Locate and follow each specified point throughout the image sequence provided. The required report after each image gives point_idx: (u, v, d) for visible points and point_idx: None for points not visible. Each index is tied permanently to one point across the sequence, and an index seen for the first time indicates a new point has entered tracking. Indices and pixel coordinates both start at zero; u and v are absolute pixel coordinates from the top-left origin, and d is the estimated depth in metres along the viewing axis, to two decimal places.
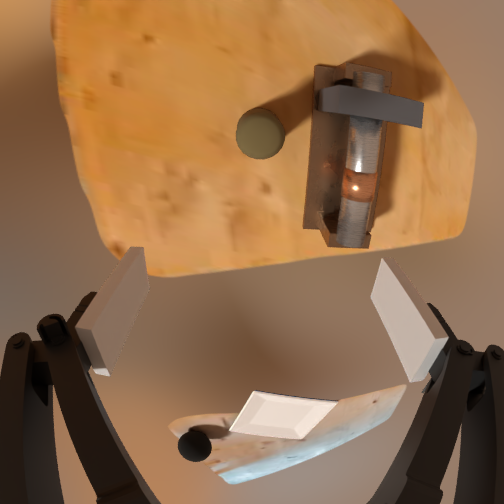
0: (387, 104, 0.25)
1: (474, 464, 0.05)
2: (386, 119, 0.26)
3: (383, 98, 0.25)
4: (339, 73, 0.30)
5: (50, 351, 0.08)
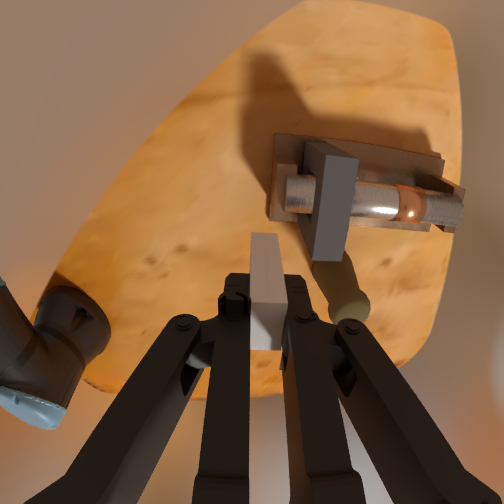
0: (332, 207, 0.25)
1: (385, 452, 0.07)
2: (350, 208, 0.25)
3: (326, 212, 0.26)
4: None
5: (222, 323, 0.10)
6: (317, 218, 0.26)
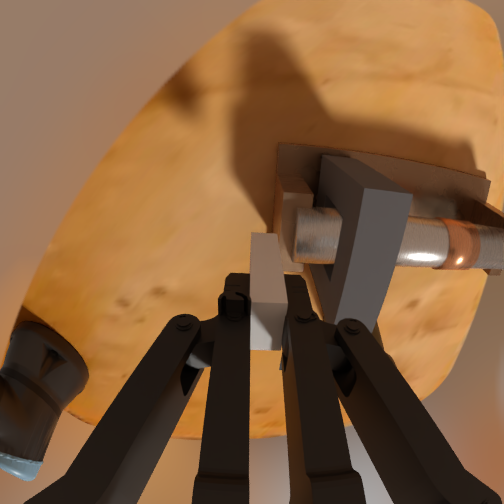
0: (367, 267, 0.16)
1: (386, 452, 0.07)
2: (392, 268, 0.16)
3: (357, 275, 0.16)
4: None
5: (222, 323, 0.10)
6: (343, 282, 0.17)
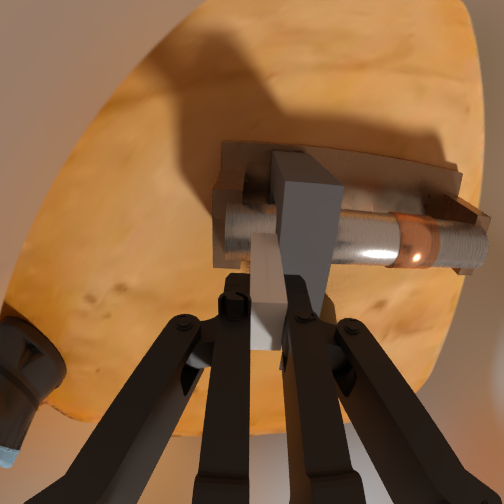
0: (298, 265, 0.16)
1: (385, 452, 0.07)
2: (328, 265, 0.16)
3: (288, 272, 0.16)
4: None
5: (222, 323, 0.10)
6: None
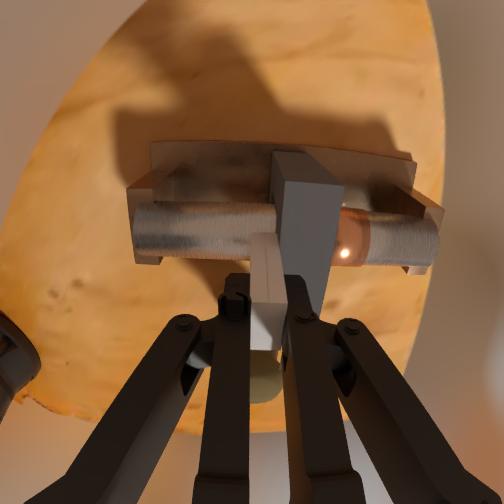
0: (298, 265, 0.16)
1: (385, 452, 0.07)
2: (328, 265, 0.16)
3: (288, 272, 0.16)
4: None
5: (222, 323, 0.10)
6: None
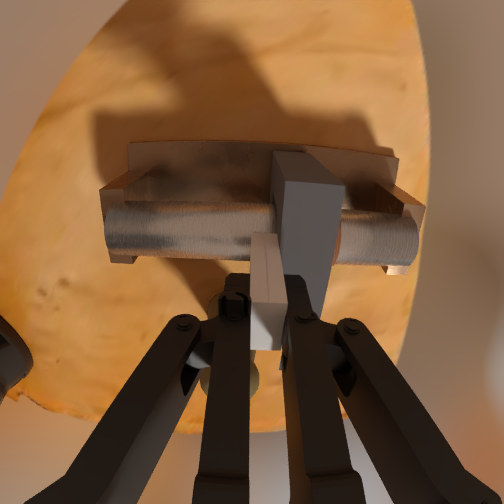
0: (298, 266, 0.16)
1: (385, 452, 0.07)
2: (329, 266, 0.16)
3: (288, 273, 0.16)
4: None
5: (222, 323, 0.10)
6: None
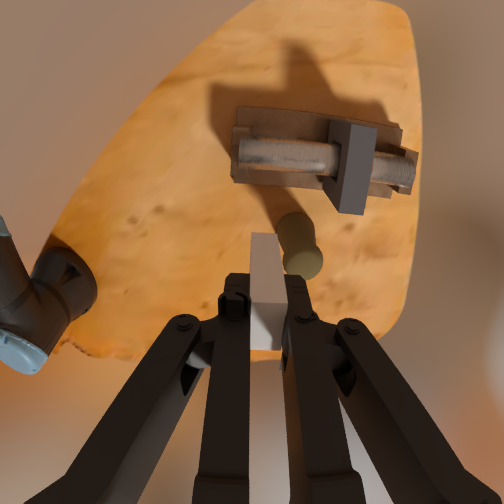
0: (356, 167, 0.29)
1: (385, 452, 0.07)
2: (370, 169, 0.29)
3: (351, 171, 0.30)
4: None
5: (222, 323, 0.10)
6: (343, 176, 0.30)
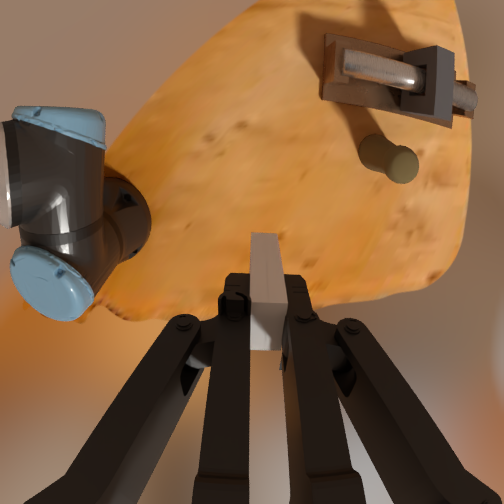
0: (443, 79, 0.26)
1: (386, 452, 0.07)
2: (453, 83, 0.26)
3: (440, 81, 0.26)
4: (337, 83, 0.34)
5: (222, 323, 0.10)
6: (435, 85, 0.27)
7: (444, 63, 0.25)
